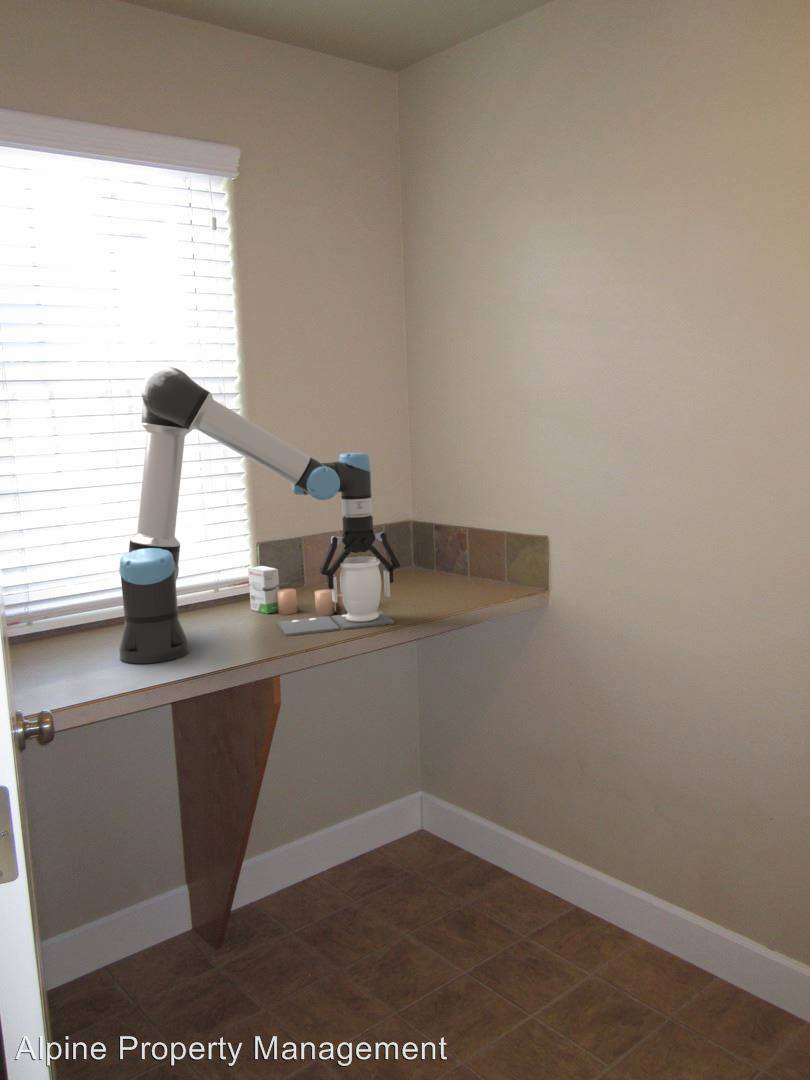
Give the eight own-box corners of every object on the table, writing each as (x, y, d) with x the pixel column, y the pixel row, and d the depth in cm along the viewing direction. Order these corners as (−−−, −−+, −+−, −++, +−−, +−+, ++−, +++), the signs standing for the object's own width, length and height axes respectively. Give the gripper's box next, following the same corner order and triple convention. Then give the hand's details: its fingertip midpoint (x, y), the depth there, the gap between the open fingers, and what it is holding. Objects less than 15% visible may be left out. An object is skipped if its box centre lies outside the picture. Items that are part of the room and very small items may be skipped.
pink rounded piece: (317, 616, 231) (316, 594, 230) (314, 612, 236) (312, 590, 235) (336, 614, 232) (335, 592, 232) (332, 610, 237) (331, 588, 236)
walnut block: (345, 616, 231) (344, 597, 230) (336, 613, 235) (335, 594, 234) (362, 613, 233) (361, 594, 232) (352, 610, 237) (351, 591, 237)
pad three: (343, 629, 216) (343, 626, 216) (332, 618, 229) (331, 615, 228) (394, 623, 220) (394, 620, 220) (380, 612, 232) (380, 609, 232)
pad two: (286, 636, 212) (286, 632, 212) (277, 624, 225) (277, 621, 224) (339, 630, 216) (339, 626, 216) (328, 618, 228) (328, 615, 228)
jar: (377, 624, 218) (374, 564, 215) (337, 623, 220) (333, 564, 217) (387, 612, 228) (384, 555, 226) (348, 612, 230) (345, 555, 228)
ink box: (282, 611, 239) (279, 568, 237) (266, 614, 236) (263, 571, 234) (265, 606, 246) (262, 564, 244) (249, 609, 242) (247, 567, 241)
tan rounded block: (279, 615, 234) (278, 593, 233) (277, 611, 239) (275, 589, 238) (298, 613, 236) (297, 591, 235) (295, 609, 240) (294, 587, 239)
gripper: (310, 520, 213) (315, 606, 216) (409, 512, 220) (413, 596, 223) (305, 517, 220) (309, 600, 223) (401, 509, 227) (404, 591, 230)
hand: (361, 598), depth 223 cm, fingers open, 13 cm apart
